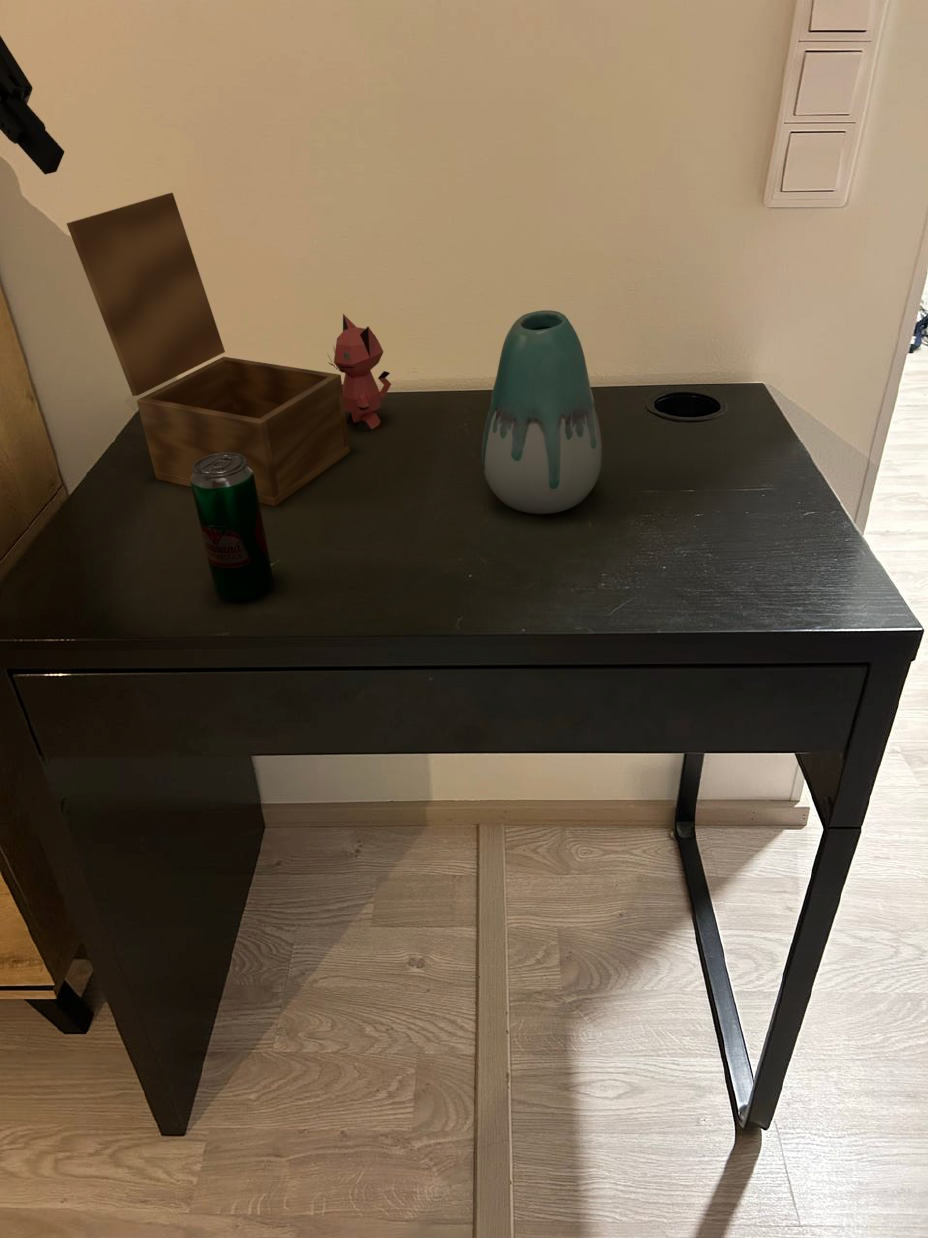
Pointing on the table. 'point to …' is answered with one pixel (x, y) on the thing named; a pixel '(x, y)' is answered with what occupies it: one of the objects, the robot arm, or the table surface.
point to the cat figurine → (360, 374)
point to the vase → (542, 419)
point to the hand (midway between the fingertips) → (54, 162)
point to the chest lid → (148, 290)
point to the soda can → (232, 526)
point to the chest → (248, 423)
